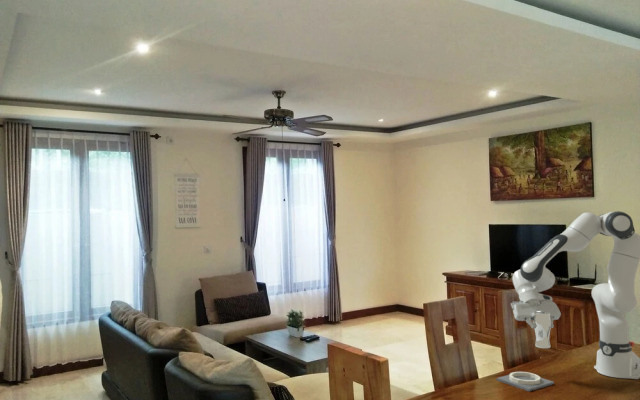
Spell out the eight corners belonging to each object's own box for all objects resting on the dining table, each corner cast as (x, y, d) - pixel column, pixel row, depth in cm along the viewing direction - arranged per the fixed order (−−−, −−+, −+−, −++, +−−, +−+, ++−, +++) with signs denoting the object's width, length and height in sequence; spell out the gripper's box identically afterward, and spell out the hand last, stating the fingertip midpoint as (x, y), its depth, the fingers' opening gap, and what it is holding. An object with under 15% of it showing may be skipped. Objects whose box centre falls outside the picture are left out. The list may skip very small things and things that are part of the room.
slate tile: (521, 373, 219) (521, 368, 220) (553, 384, 206) (553, 378, 206) (496, 380, 211) (496, 374, 211) (529, 391, 198) (528, 385, 198)
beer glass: (531, 344, 219) (530, 310, 220) (547, 344, 219) (546, 310, 219) (538, 348, 212) (536, 313, 213) (554, 348, 212) (553, 313, 212)
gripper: (511, 297, 222) (522, 324, 212) (555, 296, 224) (567, 322, 214) (507, 305, 227) (517, 332, 217) (549, 304, 228) (562, 330, 218)
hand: (543, 327), depth 215 cm, fingers closed on beer glass, 7 cm apart
